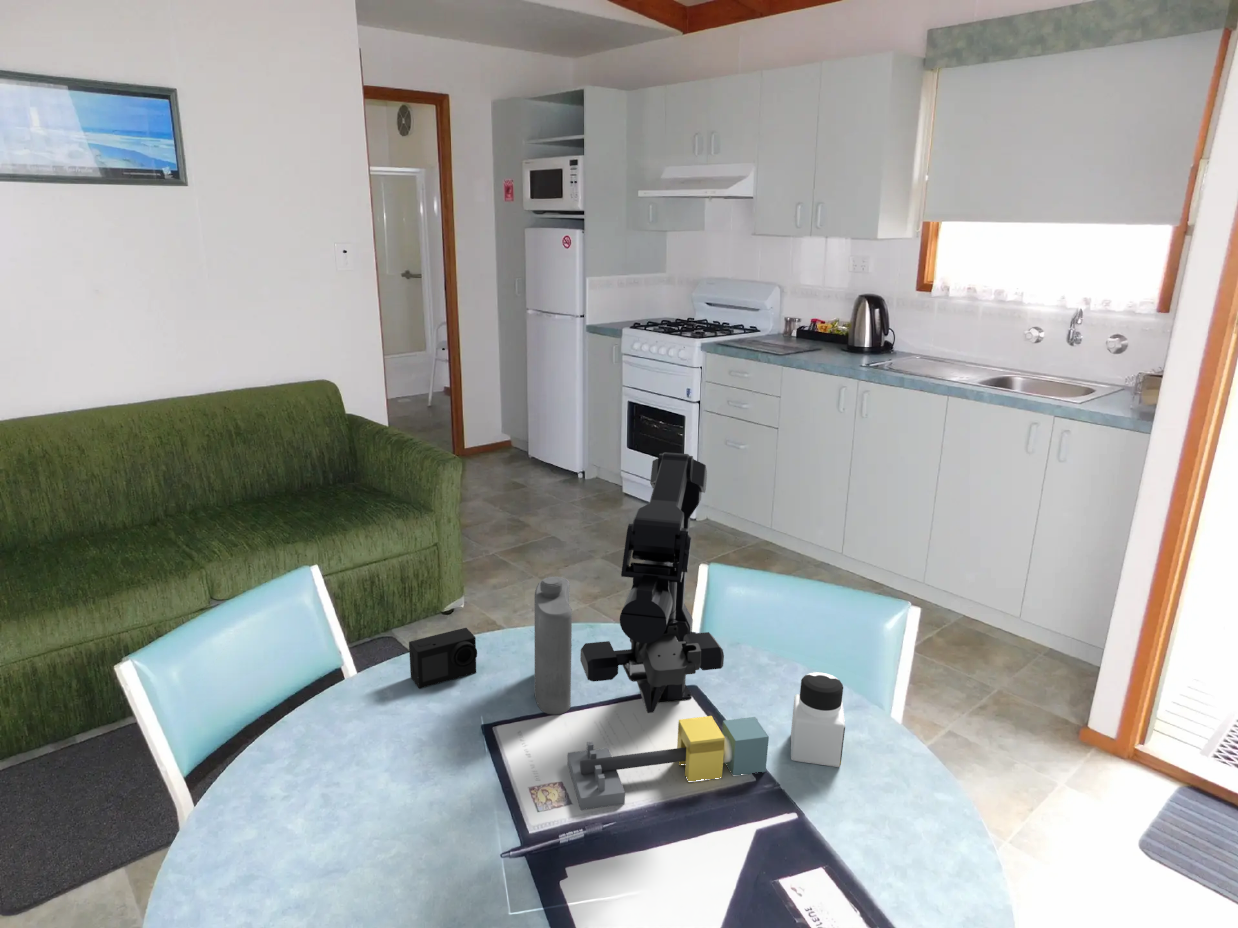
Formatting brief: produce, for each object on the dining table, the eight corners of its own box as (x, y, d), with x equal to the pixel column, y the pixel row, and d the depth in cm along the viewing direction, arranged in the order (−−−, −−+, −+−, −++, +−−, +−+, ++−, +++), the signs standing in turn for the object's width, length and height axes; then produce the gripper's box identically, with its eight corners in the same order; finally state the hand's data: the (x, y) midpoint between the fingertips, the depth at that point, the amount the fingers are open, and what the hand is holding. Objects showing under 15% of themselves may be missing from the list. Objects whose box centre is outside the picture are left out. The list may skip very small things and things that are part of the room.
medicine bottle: (840, 768, 120) (849, 695, 116) (790, 761, 121) (797, 689, 118) (838, 739, 126) (846, 670, 123) (790, 733, 128) (797, 664, 124)
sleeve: (676, 759, 120) (678, 719, 118) (708, 755, 121) (711, 715, 119) (688, 783, 115) (690, 741, 113) (721, 778, 116) (724, 737, 114)
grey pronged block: (567, 764, 119) (567, 740, 118) (608, 759, 120) (608, 735, 119) (580, 810, 109) (581, 785, 108) (624, 804, 111) (625, 779, 110)
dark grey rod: (584, 797, 112) (585, 759, 110) (577, 774, 117) (578, 737, 115) (765, 772, 118) (768, 736, 116) (752, 751, 123) (754, 716, 121)
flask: (534, 667, 144) (534, 562, 139) (568, 667, 145) (569, 561, 139) (534, 716, 130) (534, 601, 125) (571, 715, 131) (572, 600, 125)
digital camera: (421, 692, 136) (419, 654, 134) (410, 677, 140) (408, 640, 138) (479, 676, 141) (478, 639, 139) (467, 662, 146) (466, 626, 144)
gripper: (598, 642, 99) (595, 754, 103) (742, 629, 104) (734, 737, 108) (580, 603, 110) (578, 706, 114) (712, 592, 114) (706, 692, 118)
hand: (649, 711), depth 113 cm, fingers closed
